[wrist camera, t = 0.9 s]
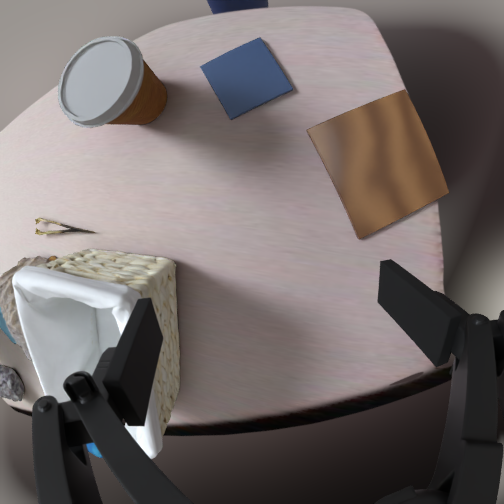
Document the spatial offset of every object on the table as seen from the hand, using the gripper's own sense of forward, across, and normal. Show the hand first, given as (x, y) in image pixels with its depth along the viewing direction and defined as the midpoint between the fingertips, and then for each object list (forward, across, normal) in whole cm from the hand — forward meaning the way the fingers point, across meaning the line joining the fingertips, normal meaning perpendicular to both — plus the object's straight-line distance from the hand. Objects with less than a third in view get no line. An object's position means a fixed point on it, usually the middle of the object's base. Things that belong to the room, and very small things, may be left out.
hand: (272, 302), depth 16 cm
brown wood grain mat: (+17, +17, +6) cm, 25 cm away
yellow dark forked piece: (+25, -26, +2) cm, 36 cm away
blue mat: (+21, +2, +17) cm, 27 cm away
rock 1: (+27, -61, -25) cm, 71 cm away
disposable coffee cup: (+23, -10, +16) cm, 30 cm away
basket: (+22, -18, -13) cm, 31 cm away
